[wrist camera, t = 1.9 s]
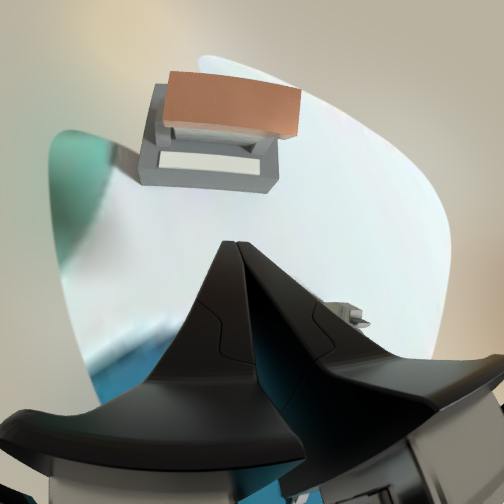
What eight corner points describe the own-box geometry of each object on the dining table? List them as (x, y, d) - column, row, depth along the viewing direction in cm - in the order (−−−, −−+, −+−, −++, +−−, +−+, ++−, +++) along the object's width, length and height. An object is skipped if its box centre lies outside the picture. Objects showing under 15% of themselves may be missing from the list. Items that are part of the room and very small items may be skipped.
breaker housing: (266, 193, 23) (294, 160, 17) (141, 185, 21) (132, 146, 15) (264, 115, 25) (287, 74, 19) (155, 105, 22) (155, 58, 16)
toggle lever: (250, 150, 20) (297, 135, 11) (171, 143, 18) (162, 120, 10) (254, 121, 19) (301, 89, 11) (175, 113, 18) (170, 71, 10)
